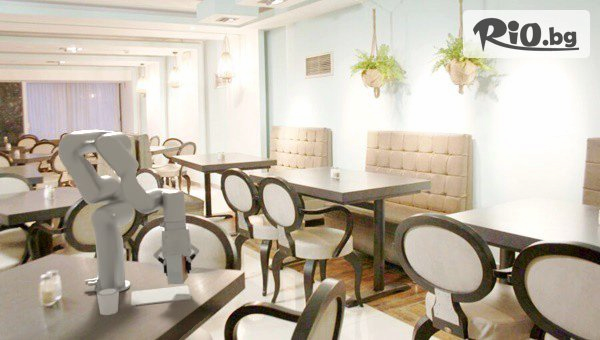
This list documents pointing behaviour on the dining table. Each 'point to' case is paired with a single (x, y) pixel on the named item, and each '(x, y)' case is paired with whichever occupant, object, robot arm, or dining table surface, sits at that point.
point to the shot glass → (108, 301)
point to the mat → (160, 295)
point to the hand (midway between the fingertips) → (177, 273)
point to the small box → (176, 269)
